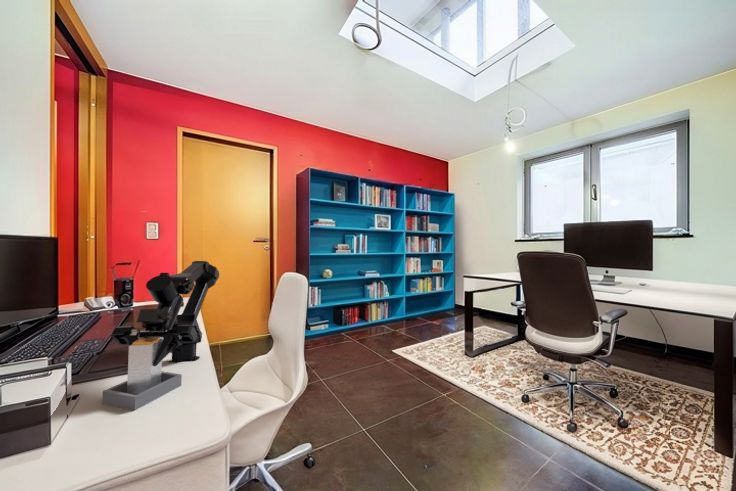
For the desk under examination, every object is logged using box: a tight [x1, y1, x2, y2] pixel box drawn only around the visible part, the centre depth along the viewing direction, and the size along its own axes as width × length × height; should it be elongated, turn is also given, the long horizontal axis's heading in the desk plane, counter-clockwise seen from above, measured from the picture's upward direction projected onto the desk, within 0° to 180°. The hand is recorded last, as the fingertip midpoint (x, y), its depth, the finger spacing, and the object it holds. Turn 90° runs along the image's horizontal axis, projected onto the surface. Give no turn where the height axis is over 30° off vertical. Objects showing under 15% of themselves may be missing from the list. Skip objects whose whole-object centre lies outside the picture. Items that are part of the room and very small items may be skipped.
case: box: [101, 370, 183, 411], centre depth 70 cm, size 12×10×4 cm
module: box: [127, 337, 163, 394], centre depth 70 cm, size 5×5×13 cm
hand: (142, 366), depth 69 cm, fingers closed on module, 5 cm apart
